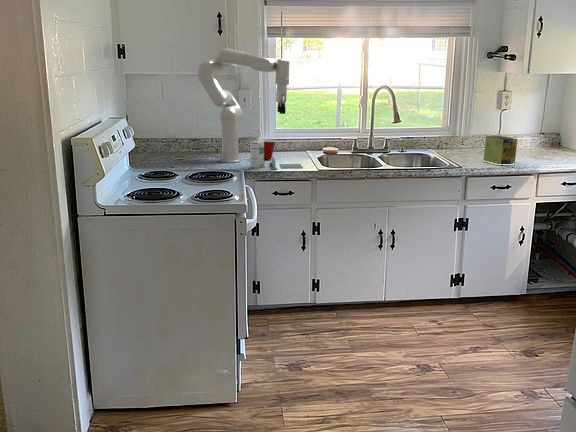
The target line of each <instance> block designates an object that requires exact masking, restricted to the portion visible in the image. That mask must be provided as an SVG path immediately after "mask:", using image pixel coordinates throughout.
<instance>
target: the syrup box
mask: <svg viewBox="0 0 576 432" xmlns="http://www.w3.org/2000/svg"><path fill="white" fill-rule="evenodd" d="M249 147H250V148H249V151H250V152H249V154H250V168H255V169H258V168H264V167H265V160H264V141H260V140H251V141H250V142H249Z"/></svg>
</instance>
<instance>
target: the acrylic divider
mask: <svg viewBox="0 0 576 432" xmlns="http://www.w3.org/2000/svg"><path fill="white" fill-rule="evenodd" d="M269 165H272V166H271V170H272V171H278V167H276V159H275V157H274V155H273V154H272V159H271V161H269Z"/></svg>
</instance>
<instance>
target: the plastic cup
mask: <svg viewBox="0 0 576 432" xmlns="http://www.w3.org/2000/svg"><path fill="white" fill-rule="evenodd" d="M258 140H260V141H264V159H271V158H272V155H273V153H274V149H275V145H276V142H277V140H275V139H272V138H258ZM271 160H272V159H271Z"/></svg>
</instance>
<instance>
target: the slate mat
mask: <svg viewBox="0 0 576 432" xmlns="http://www.w3.org/2000/svg"><path fill="white" fill-rule="evenodd" d="M279 166H280V169H304V167H303V166H302V164H301V163H279Z"/></svg>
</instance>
